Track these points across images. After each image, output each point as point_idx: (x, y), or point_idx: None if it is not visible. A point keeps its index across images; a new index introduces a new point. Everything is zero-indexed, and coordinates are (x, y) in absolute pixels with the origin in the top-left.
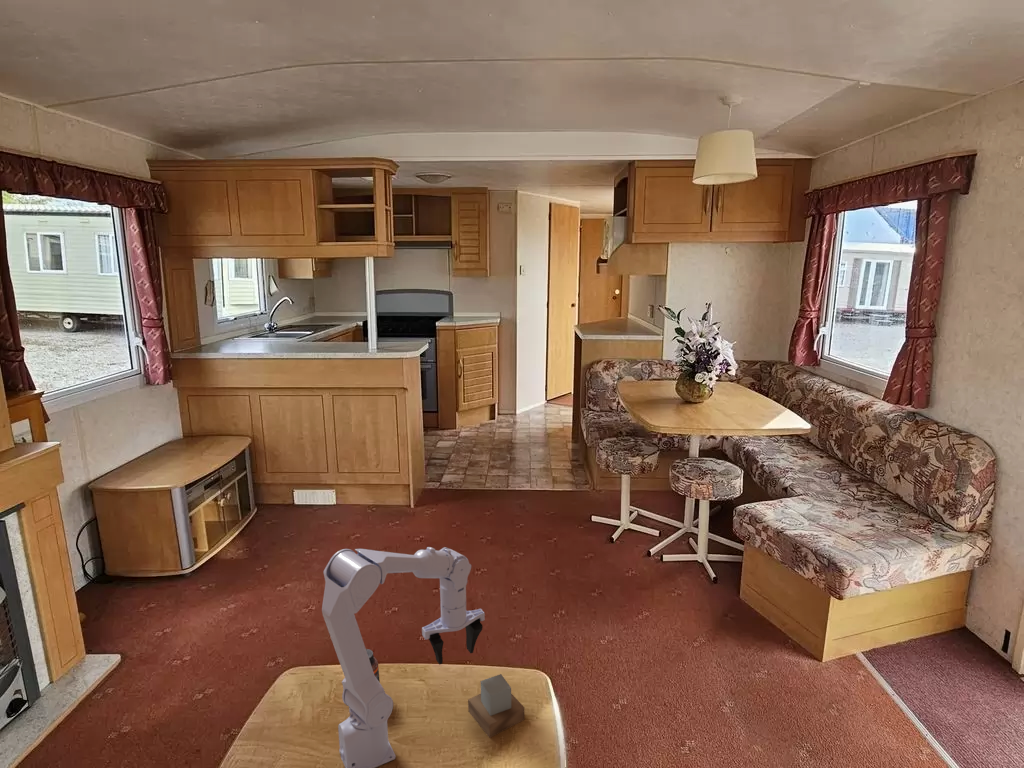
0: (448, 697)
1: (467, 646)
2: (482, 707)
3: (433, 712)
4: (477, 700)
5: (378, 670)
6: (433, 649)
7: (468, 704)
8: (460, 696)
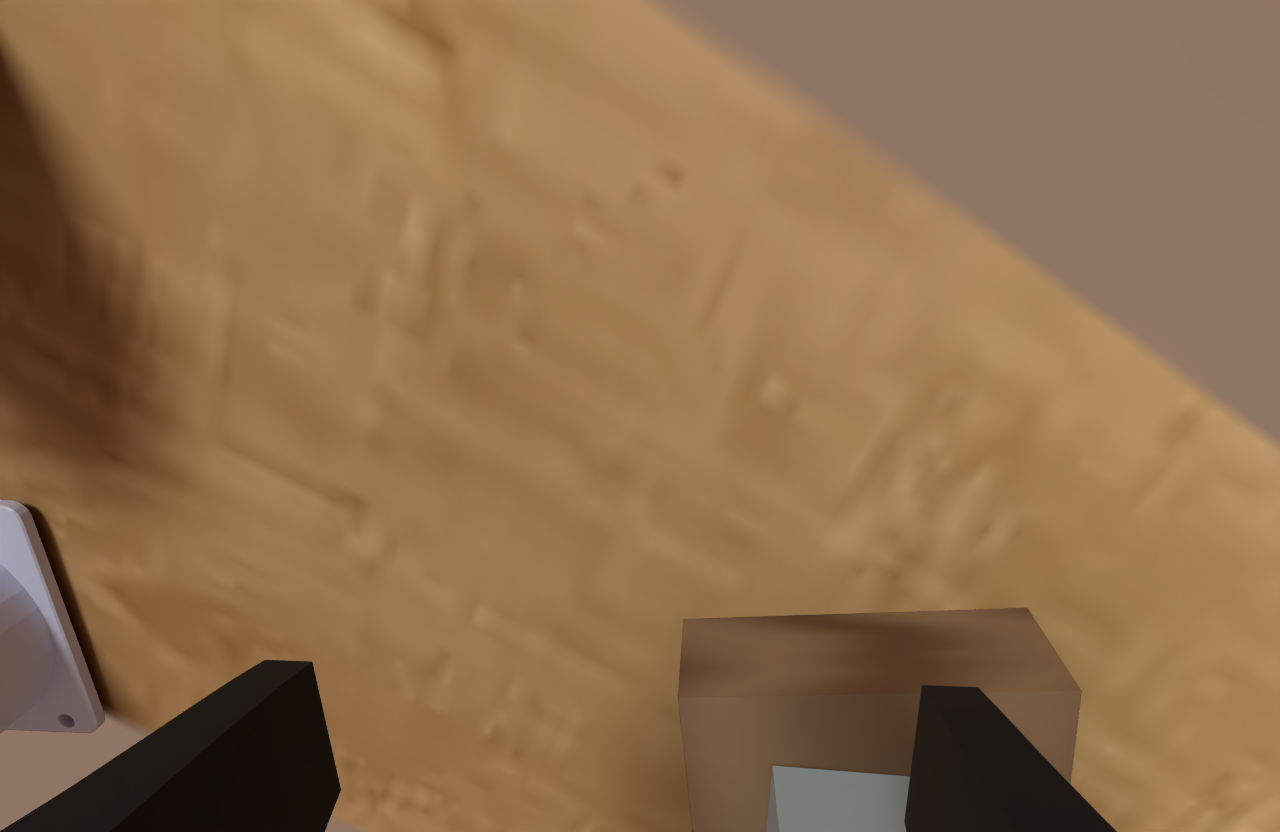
0: (594, 407)
1: (939, 765)
2: (747, 819)
3: (424, 497)
4: (747, 747)
5: None
6: (44, 807)
7: (680, 668)
8: (697, 449)
